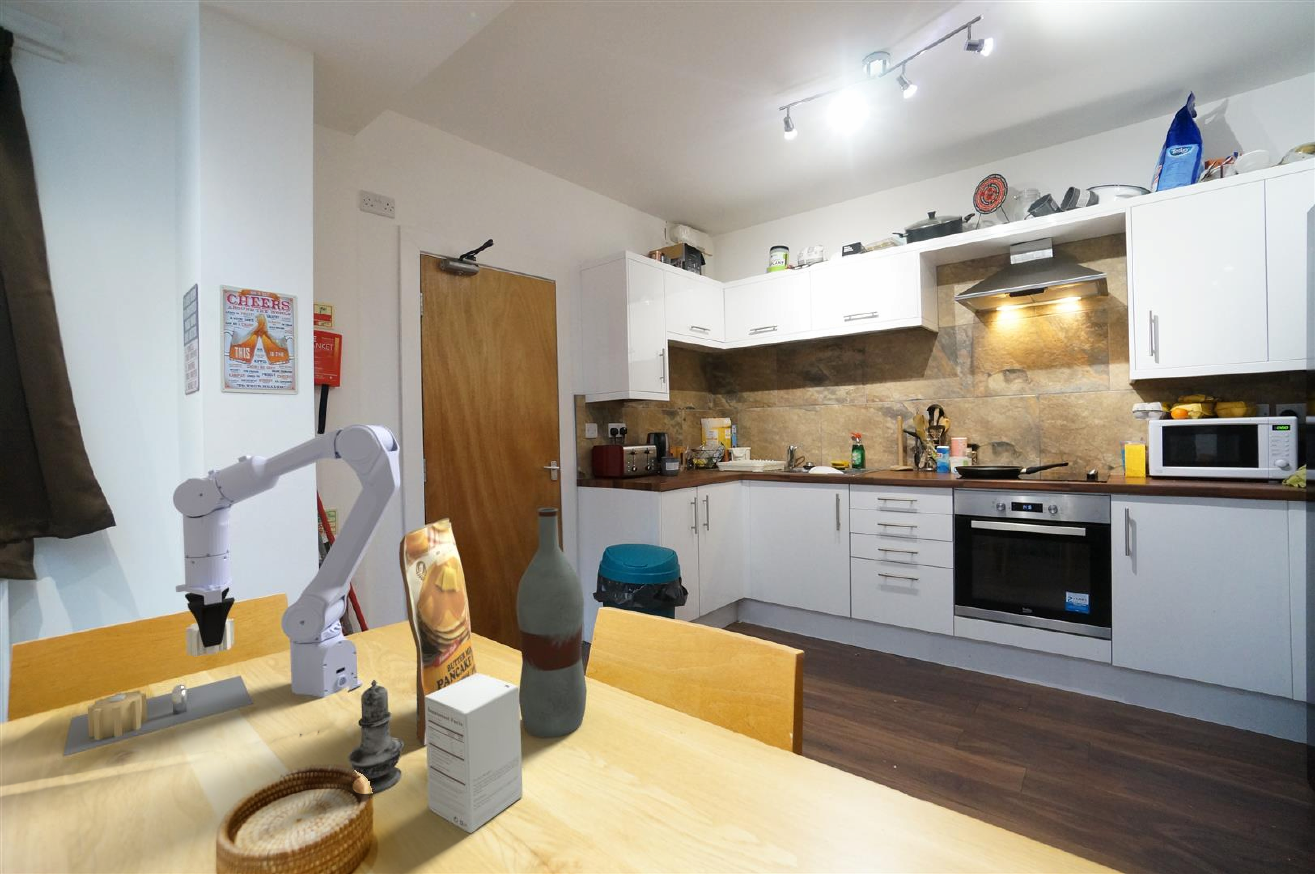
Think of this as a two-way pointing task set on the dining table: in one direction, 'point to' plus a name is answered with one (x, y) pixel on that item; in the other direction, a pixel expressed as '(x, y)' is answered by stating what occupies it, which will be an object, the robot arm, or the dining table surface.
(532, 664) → the bottle
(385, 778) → the dark grey tall piece
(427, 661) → the pancake mix bag
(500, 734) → the supplement box
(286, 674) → the dining table surface
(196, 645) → the gear
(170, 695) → the gear board
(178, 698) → the steel peg
